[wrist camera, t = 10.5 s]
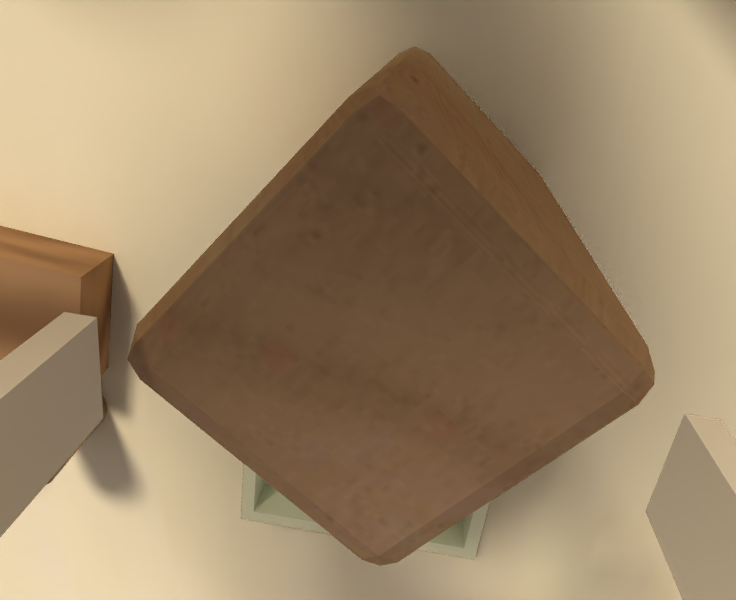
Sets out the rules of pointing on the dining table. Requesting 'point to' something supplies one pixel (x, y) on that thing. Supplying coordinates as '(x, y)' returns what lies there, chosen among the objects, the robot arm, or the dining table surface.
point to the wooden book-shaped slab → (51, 287)
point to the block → (396, 321)
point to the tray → (278, 510)
